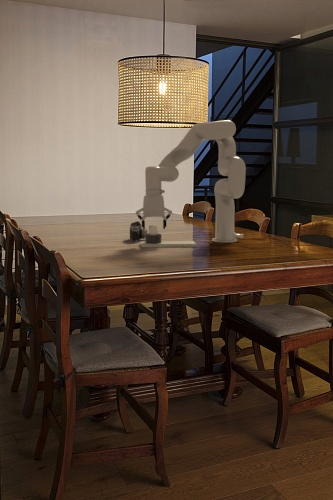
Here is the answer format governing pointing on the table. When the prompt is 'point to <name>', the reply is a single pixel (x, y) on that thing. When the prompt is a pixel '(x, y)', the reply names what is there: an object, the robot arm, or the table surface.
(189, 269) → the table surface
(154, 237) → the black faceted cup
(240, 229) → the table surface
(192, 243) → the board
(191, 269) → the table surface
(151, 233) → the cylinder
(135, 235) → the camera
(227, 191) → the robot arm
